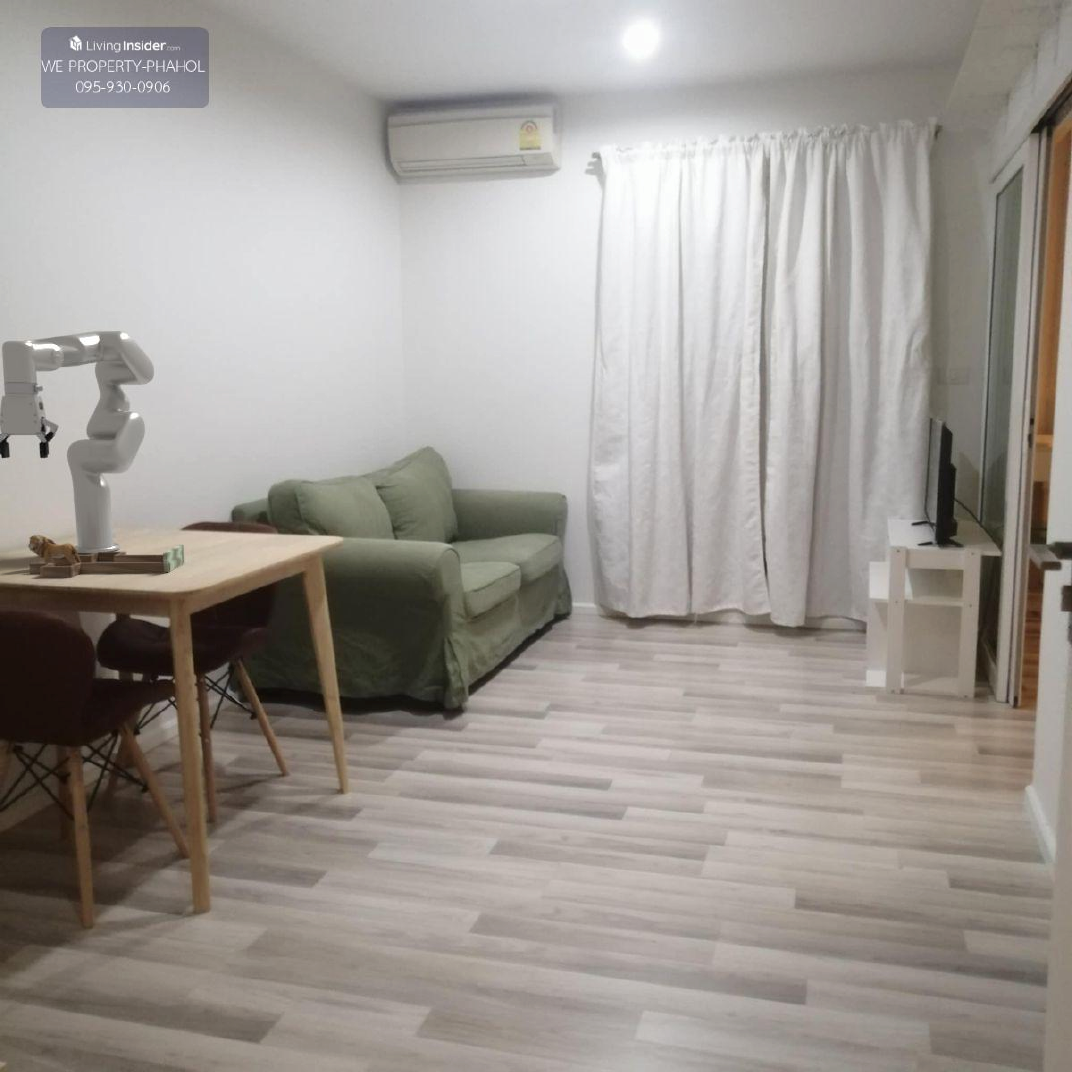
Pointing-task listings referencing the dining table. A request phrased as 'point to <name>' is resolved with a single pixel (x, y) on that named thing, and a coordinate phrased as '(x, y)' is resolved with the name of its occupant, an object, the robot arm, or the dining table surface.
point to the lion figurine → (52, 549)
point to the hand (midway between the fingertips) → (24, 457)
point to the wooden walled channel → (111, 563)
